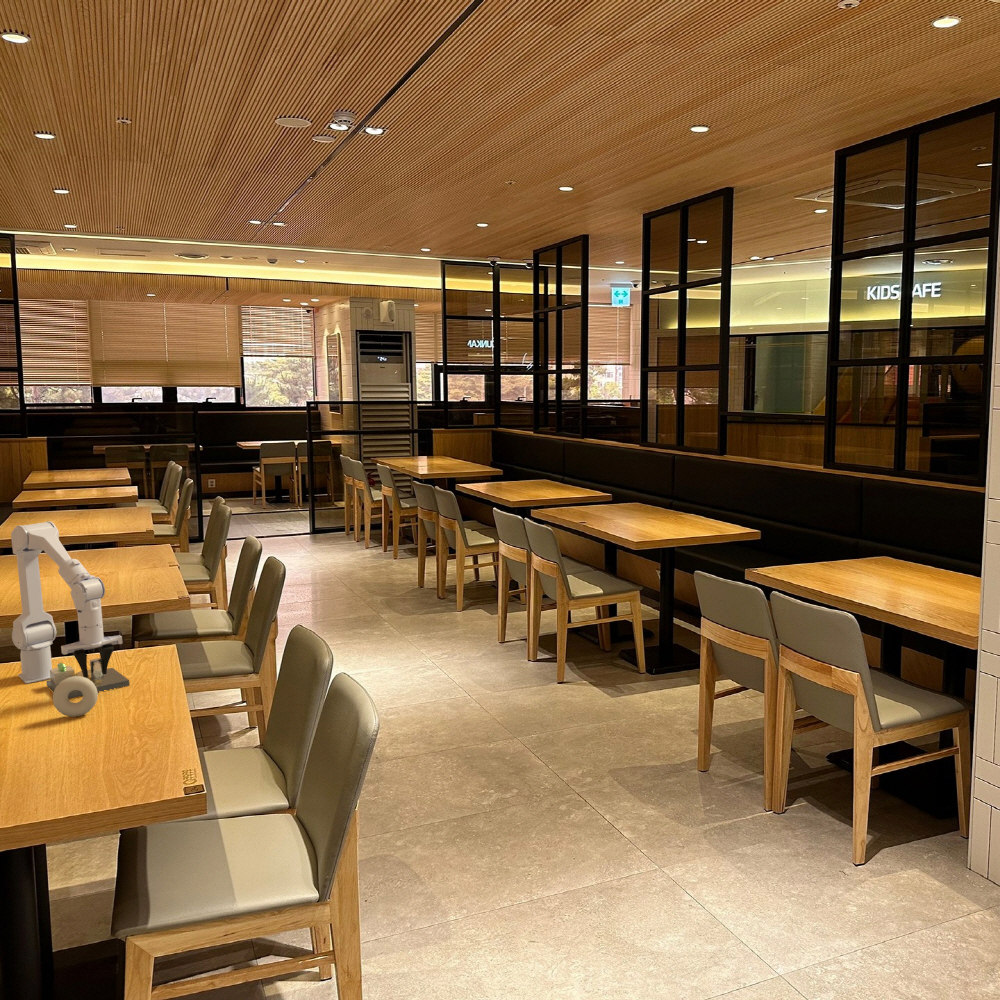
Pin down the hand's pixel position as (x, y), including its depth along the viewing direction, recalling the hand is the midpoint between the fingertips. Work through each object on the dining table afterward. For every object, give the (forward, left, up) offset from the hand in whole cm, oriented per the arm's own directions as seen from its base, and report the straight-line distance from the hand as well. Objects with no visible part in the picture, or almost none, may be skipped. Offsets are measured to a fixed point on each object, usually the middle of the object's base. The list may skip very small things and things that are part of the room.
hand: (94, 675), depth 234 cm
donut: (+16, -9, -5) cm, 18 cm away
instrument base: (-7, 0, -5) cm, 8 cm away
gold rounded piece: (-4, 0, -3) cm, 5 cm away
